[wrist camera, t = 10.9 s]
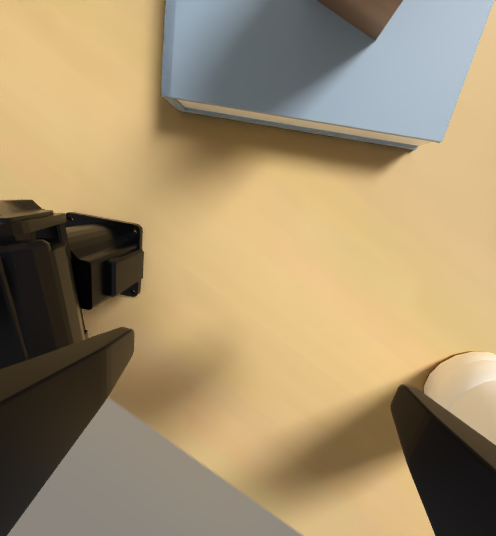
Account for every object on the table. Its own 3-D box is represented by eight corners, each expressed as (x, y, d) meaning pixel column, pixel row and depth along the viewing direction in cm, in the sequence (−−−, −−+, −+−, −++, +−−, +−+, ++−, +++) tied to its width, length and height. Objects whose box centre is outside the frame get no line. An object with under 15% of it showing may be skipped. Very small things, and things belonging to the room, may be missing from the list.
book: (178, 110, 18) (160, 95, 15) (195, -124, 14) (176, -203, 11) (413, 150, 17) (442, 141, 14) (493, -85, 14) (553, -159, 11)
